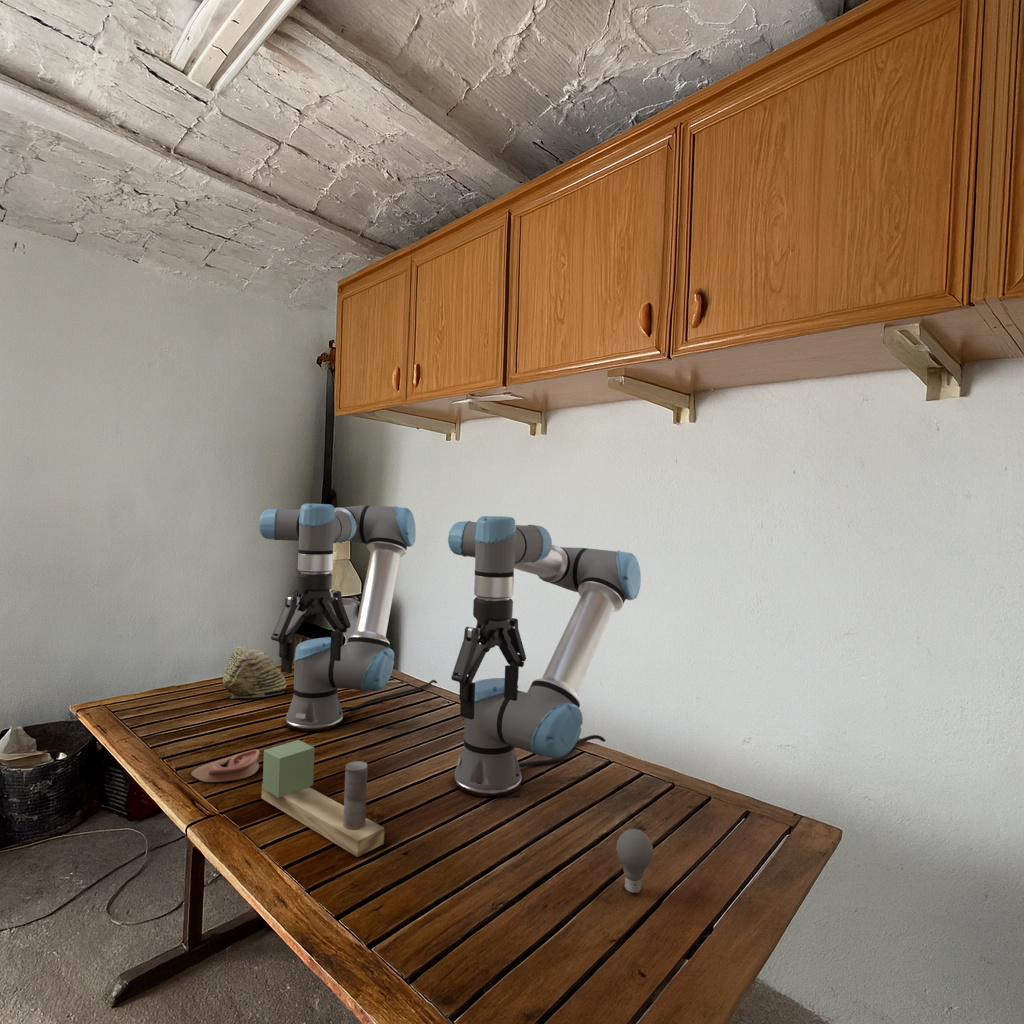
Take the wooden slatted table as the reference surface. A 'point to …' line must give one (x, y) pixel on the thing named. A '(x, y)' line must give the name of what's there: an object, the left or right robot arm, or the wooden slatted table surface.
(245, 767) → the anatomical model
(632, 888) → the light bulb
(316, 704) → the left robot arm
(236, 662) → the fossil
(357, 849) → the birch board
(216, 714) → the wooden slatted table surface
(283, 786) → the green block
